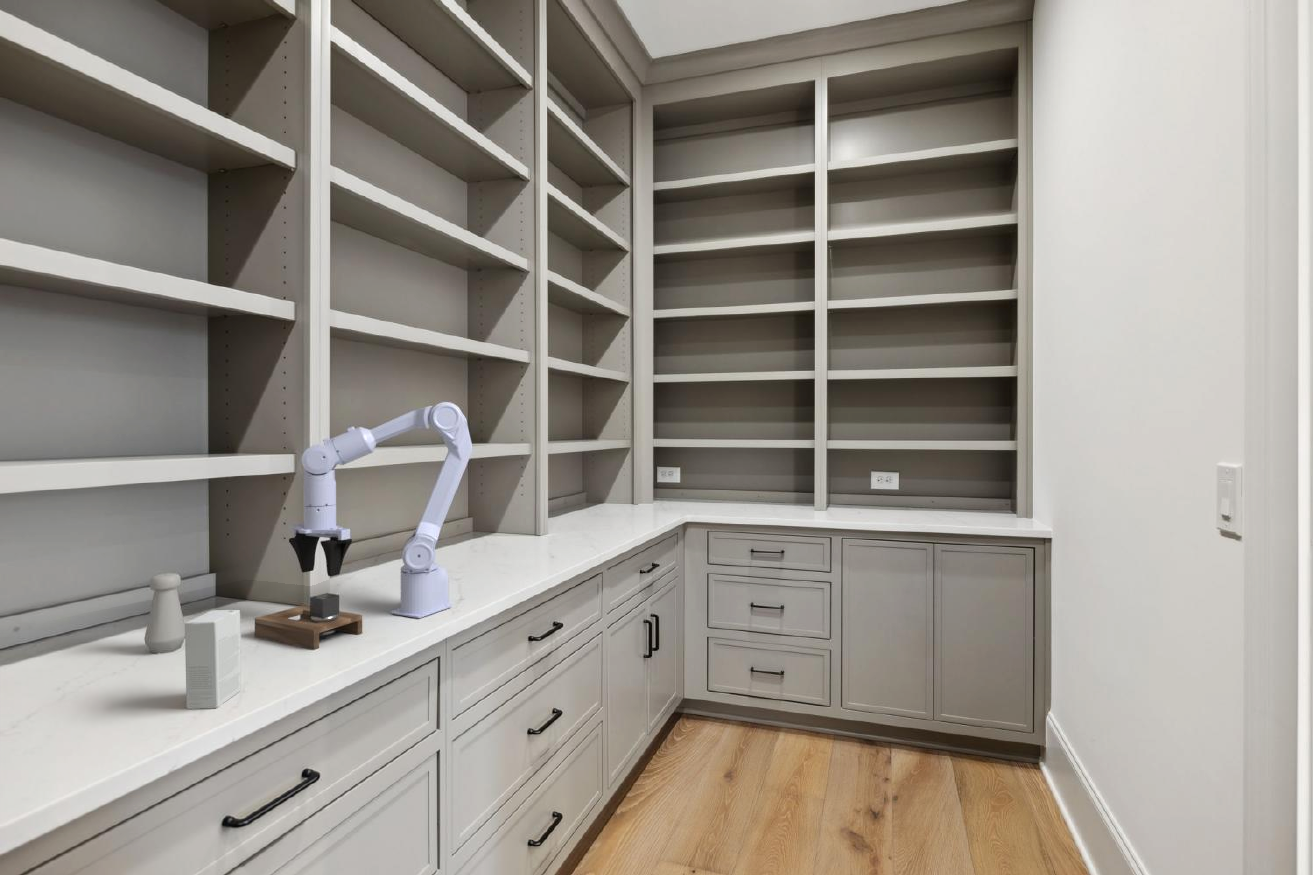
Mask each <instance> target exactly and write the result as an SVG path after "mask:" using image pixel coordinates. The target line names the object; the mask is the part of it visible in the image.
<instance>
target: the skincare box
mask: <svg viewBox="0 0 1313 875" xmlns="http://www.w3.org/2000/svg"><path fill="white" fill-rule="evenodd" d="M184 624H185V639H184V642H185V643H184V645H185V651H184V652H185V692H186V693H185V696H186V700H185V701H186V709H187V710H196V709H197V710H198V709H200V710H201V709H217V708H219V707H220V706H221V705H223V704H224V703H226V702H228V701H229V700H230V699H232V698H233V697H234V696H235V695H238V693H240V692H241V691H242V652H241V651H242V650H241V649H242V648H241V647H242V646H241V644H242V641H241V610H240V609H221V610H219V609H217V610H216V609H215V610H209V611H207V612H205V613H204V614H201V615H199V616H197V617H195V618H193V619H191V620H188V621H186V622H184Z"/></svg>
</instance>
